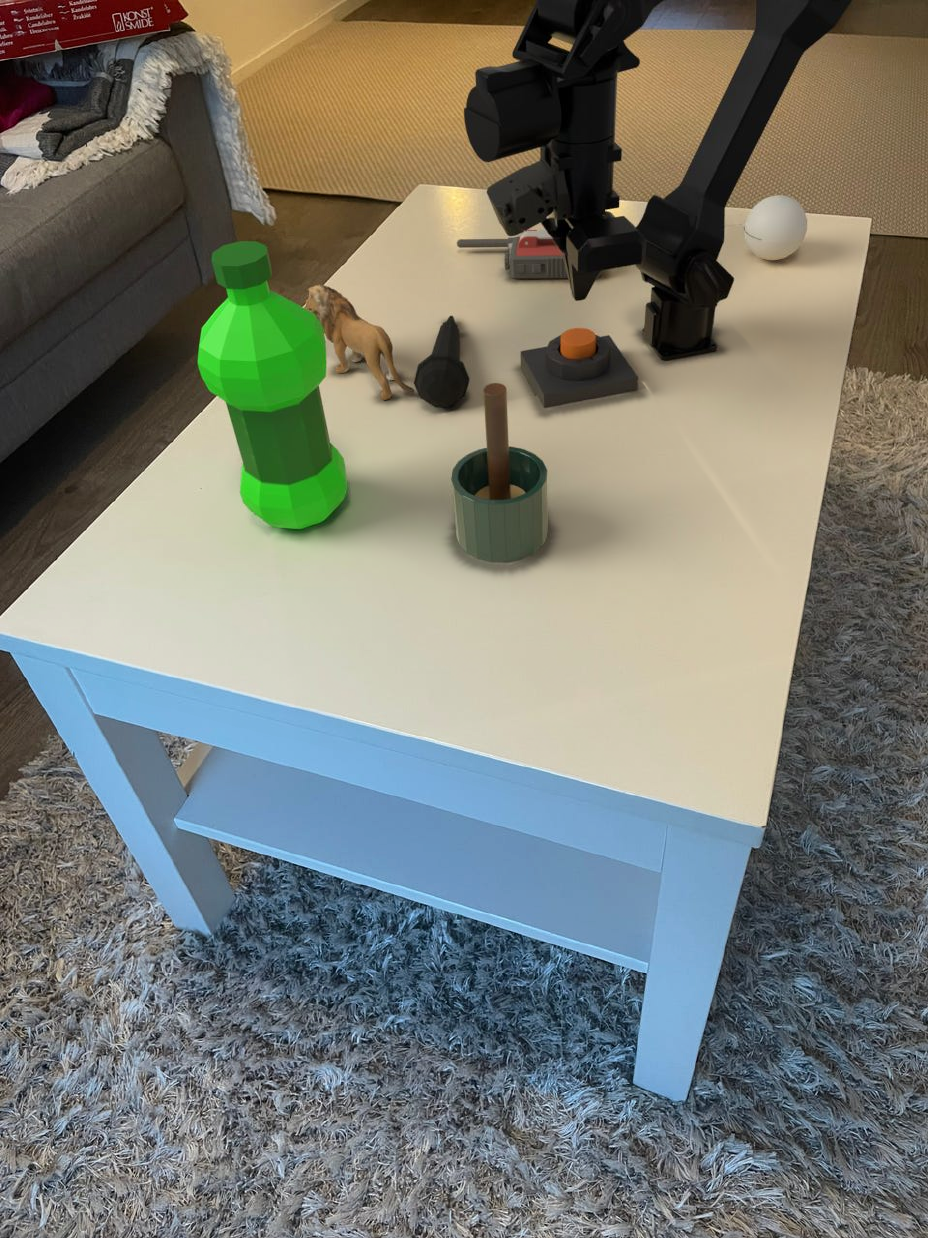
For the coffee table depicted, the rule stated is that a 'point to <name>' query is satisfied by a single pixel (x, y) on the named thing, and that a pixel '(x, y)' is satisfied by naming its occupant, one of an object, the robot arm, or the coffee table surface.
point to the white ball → (775, 227)
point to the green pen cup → (500, 508)
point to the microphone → (443, 370)
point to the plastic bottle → (272, 392)
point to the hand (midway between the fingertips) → (579, 298)
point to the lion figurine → (353, 335)
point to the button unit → (577, 373)
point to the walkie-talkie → (527, 254)
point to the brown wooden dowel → (497, 445)
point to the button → (578, 343)
